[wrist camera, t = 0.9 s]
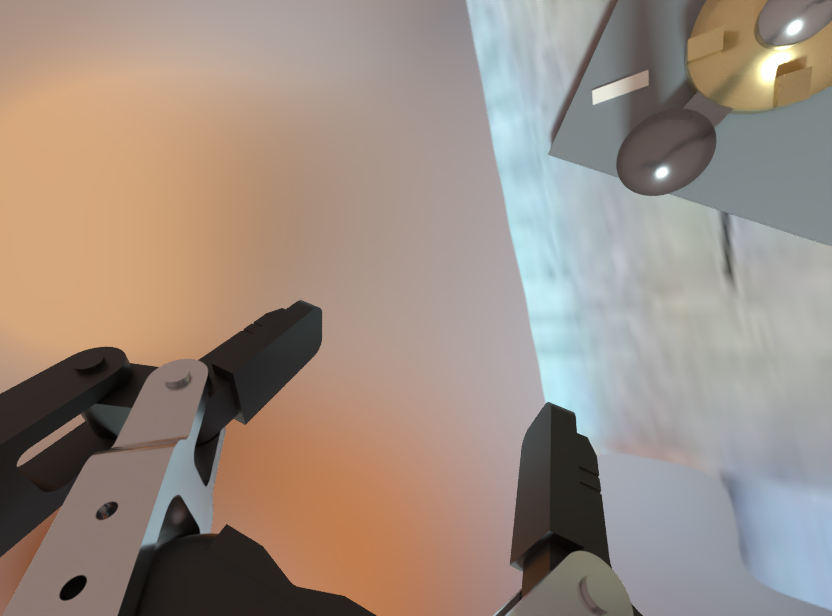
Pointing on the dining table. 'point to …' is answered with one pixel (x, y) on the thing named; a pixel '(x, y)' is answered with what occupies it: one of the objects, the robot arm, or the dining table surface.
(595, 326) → the dining table surface
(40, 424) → the robot arm
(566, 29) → the dining table surface
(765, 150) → the base plate
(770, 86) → the brass hub with handle
